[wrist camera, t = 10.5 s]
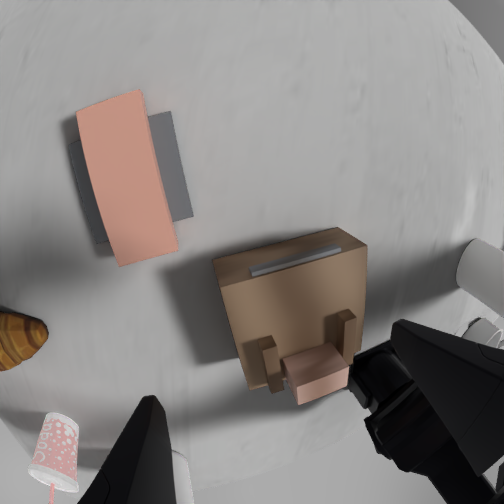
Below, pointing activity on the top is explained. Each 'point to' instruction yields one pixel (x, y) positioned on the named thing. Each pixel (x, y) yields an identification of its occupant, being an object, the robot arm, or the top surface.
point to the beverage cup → (56, 454)
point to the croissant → (19, 338)
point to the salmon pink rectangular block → (127, 178)
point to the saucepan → (484, 333)
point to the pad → (167, 166)
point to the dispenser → (297, 311)
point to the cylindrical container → (483, 274)
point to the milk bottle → (182, 479)
